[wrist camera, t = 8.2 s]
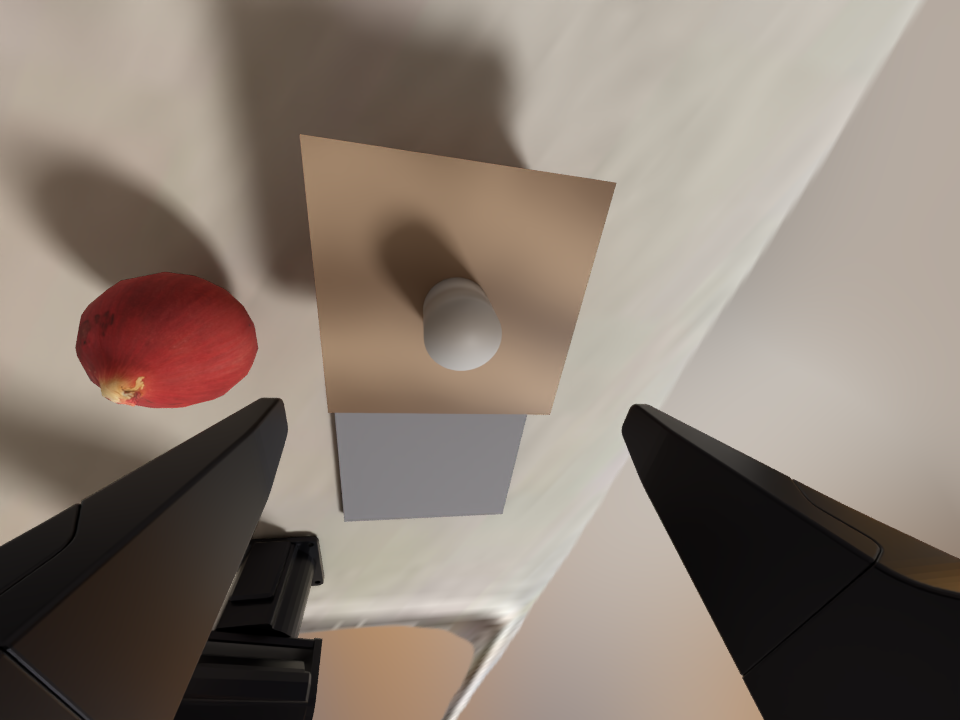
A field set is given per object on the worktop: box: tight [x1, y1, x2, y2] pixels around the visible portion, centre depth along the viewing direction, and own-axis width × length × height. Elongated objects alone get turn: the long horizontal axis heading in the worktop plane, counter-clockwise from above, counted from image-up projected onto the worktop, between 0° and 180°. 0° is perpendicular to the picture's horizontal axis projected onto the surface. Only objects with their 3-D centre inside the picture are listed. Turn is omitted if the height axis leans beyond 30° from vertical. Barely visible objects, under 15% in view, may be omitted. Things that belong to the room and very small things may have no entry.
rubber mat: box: [335, 413, 527, 522], centre depth 26 cm, size 13×13×1 cm
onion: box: [75, 272, 258, 408], centre depth 15 cm, size 6×6×8 cm
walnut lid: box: [300, 134, 616, 415], centre depth 14 cm, size 11×11×4 cm
